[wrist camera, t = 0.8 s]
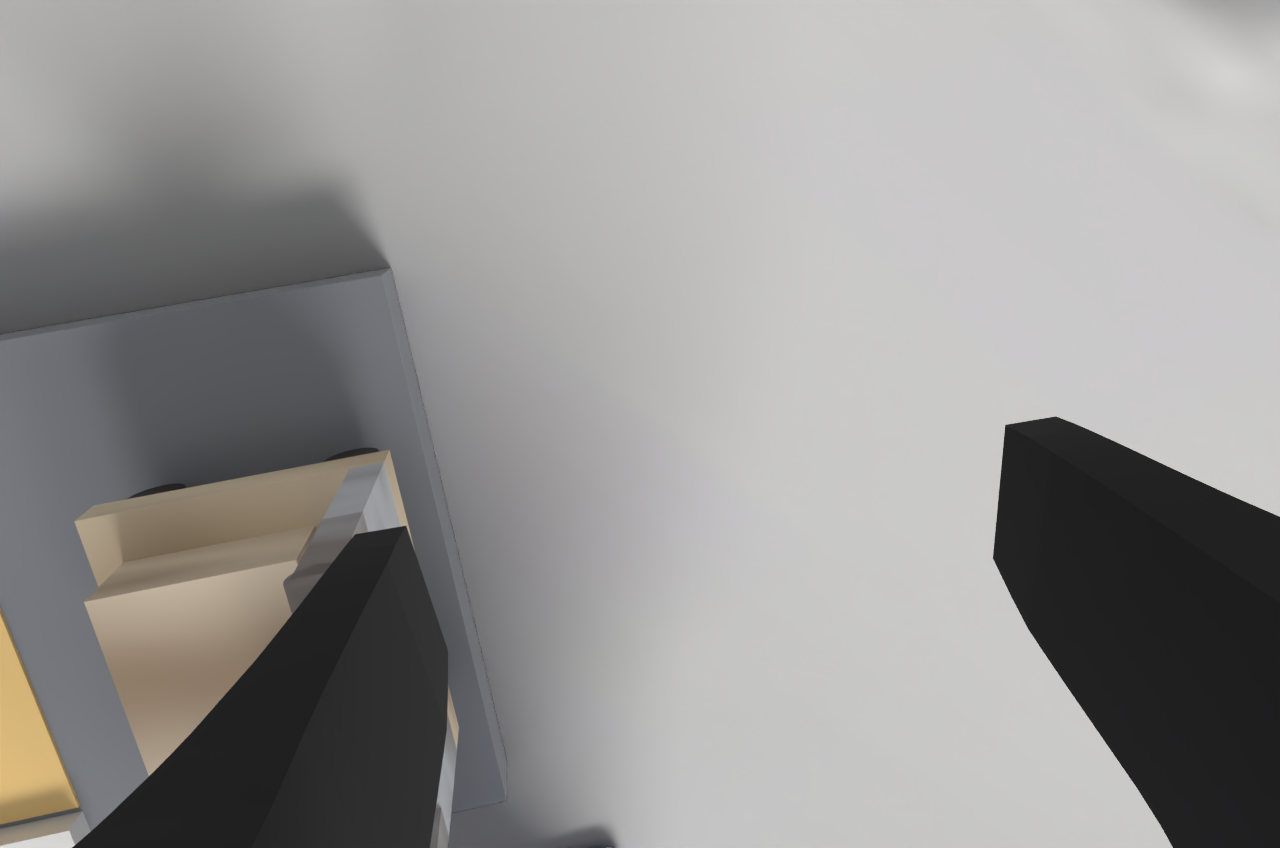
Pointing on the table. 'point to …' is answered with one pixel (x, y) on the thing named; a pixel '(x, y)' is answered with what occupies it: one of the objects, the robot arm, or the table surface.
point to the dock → (191, 455)
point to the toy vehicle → (226, 586)
